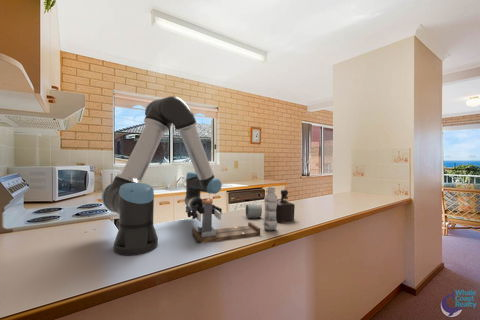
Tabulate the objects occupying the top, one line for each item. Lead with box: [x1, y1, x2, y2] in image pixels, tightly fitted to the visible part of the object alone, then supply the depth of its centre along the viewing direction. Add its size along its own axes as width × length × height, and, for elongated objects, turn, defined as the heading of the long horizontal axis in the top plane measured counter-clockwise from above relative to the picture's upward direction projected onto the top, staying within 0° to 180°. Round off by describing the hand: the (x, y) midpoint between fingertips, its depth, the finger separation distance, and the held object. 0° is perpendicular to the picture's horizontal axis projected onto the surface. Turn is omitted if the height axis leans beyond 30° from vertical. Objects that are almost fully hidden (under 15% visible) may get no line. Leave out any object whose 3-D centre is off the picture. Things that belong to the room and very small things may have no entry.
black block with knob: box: [276, 189, 296, 223], centre depth 125 cm, size 16×11×18 cm
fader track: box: [191, 221, 261, 245], centre depth 100 cm, size 28×10×3 cm, turn 114°
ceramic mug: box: [245, 203, 263, 219], centre depth 132 cm, size 11×8×8 cm
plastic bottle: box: [262, 187, 279, 231], centre depth 109 cm, size 6×7×20 cm
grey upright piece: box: [197, 197, 216, 238], centre depth 96 cm, size 6×7×15 cm
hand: (210, 217), depth 92 cm, fingers open, 8 cm apart
